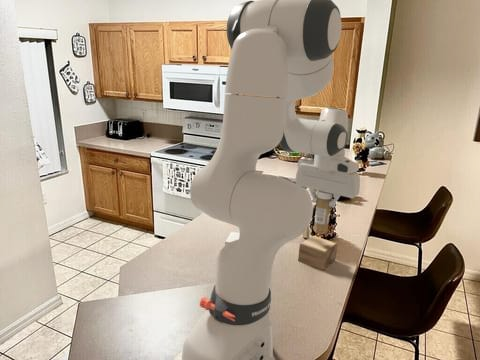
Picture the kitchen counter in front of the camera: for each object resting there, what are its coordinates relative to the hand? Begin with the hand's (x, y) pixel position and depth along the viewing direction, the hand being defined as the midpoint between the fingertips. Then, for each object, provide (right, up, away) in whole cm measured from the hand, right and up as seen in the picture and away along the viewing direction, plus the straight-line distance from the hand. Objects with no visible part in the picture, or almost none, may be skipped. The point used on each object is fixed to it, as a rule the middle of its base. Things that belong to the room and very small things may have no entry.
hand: (323, 204), depth 113 cm
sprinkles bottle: (0, -9, +2) cm, 9 cm away
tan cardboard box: (-1, -19, +5) cm, 20 cm away
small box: (-28, -20, -3) cm, 34 cm away
